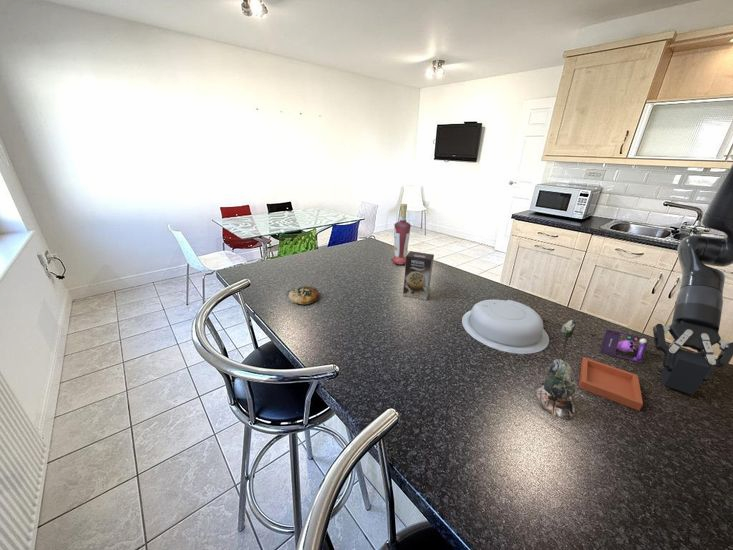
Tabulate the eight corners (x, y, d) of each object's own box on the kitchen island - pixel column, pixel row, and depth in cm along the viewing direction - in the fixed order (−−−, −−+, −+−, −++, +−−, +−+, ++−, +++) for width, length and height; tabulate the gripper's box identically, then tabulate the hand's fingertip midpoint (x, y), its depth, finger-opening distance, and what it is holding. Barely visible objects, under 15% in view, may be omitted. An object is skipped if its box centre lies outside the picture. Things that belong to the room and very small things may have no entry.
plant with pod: (523, 406, 64) (547, 330, 56) (542, 381, 71) (567, 310, 63) (564, 431, 59) (599, 350, 50) (581, 402, 66) (614, 326, 57)
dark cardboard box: (402, 296, 110) (405, 255, 103) (406, 289, 115) (409, 250, 109) (426, 300, 107) (431, 259, 100) (429, 293, 112) (434, 253, 106)
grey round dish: (492, 359, 78) (497, 340, 76) (447, 311, 100) (450, 295, 98) (569, 347, 83) (576, 329, 81) (511, 304, 106) (515, 289, 103)
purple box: (607, 329, 80) (650, 339, 76) (602, 326, 85) (642, 335, 81) (600, 352, 81) (642, 363, 77) (596, 348, 86) (635, 358, 82)
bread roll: (321, 290, 112) (320, 279, 109) (316, 309, 102) (315, 297, 100) (293, 290, 112) (291, 279, 109) (285, 309, 103) (282, 297, 100)
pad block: (688, 382, 71) (704, 355, 67) (693, 395, 67) (710, 367, 64) (660, 373, 73) (674, 347, 70) (664, 385, 70) (678, 358, 66)
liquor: (408, 266, 137) (413, 206, 125) (392, 266, 137) (396, 205, 125) (406, 260, 144) (411, 202, 132) (391, 260, 143) (394, 202, 132)
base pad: (634, 381, 72) (637, 374, 71) (639, 411, 64) (643, 404, 63) (580, 362, 78) (583, 356, 77) (579, 387, 69) (581, 381, 69)
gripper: (664, 294, 72) (650, 359, 68) (752, 312, 64) (743, 387, 60) (652, 304, 78) (639, 365, 74) (731, 322, 70) (722, 391, 66)
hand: (686, 374), depth 67 cm, fingers closed on pad block, 5 cm apart
